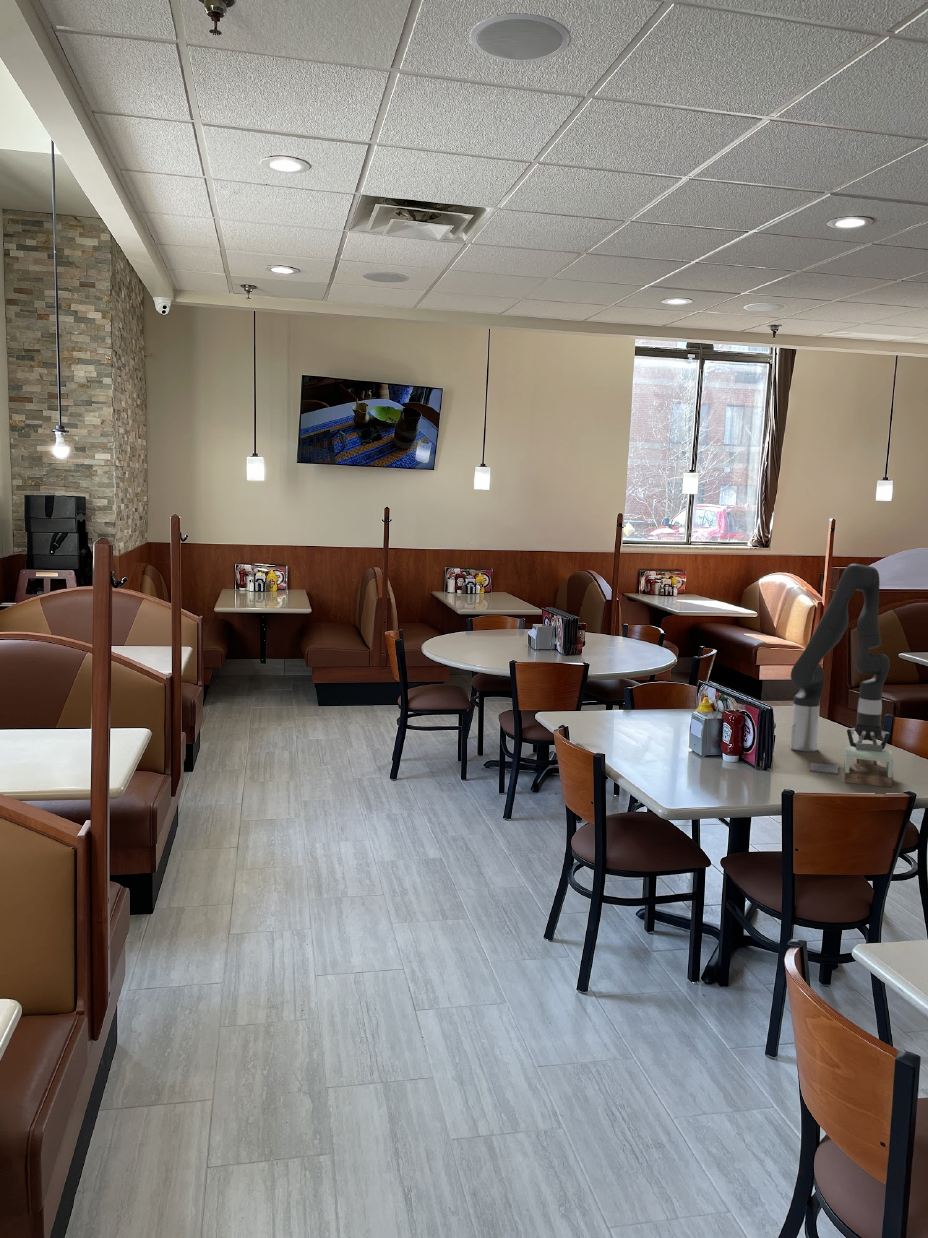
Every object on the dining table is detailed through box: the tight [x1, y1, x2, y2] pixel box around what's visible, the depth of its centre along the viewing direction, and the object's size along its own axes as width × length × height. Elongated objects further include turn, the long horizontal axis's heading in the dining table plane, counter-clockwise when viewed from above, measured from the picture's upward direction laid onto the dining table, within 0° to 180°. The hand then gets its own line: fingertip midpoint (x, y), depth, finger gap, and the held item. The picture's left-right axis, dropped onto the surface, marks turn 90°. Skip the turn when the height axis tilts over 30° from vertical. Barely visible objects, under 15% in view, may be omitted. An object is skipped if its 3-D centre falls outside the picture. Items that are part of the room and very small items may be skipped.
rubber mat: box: [809, 762, 839, 775], centre depth 313 cm, size 9×9×1 cm
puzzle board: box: [843, 754, 893, 788], centre depth 307 cm, size 14×25×3 cm, turn 157°
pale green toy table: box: [844, 742, 894, 778], centre depth 300 cm, size 14×11×8 cm
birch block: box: [859, 759, 874, 765], centre depth 311 cm, size 4×4×6 cm
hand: (866, 759), depth 311 cm, fingers closed on birch block, 4 cm apart
